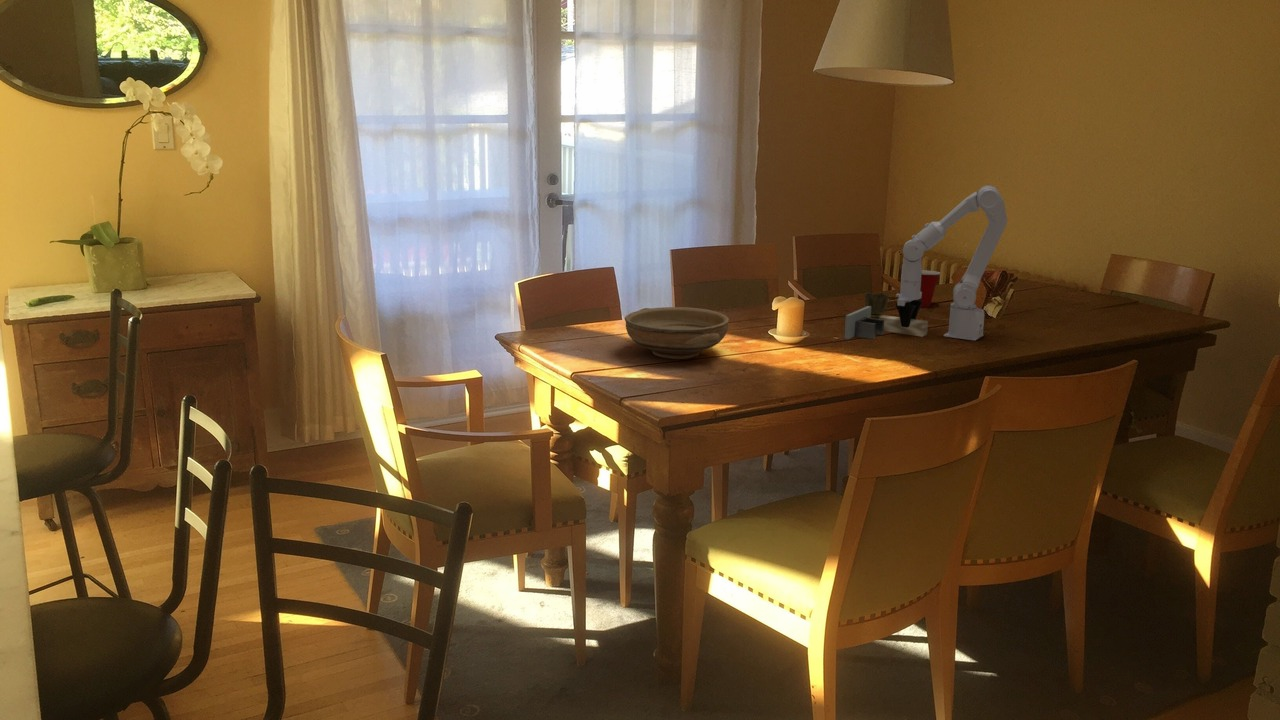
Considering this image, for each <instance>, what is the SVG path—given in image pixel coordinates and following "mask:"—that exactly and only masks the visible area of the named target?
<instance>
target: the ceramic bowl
mask: <svg viewBox="0 0 1280 720" xmlns="http://www.w3.org/2000/svg"><path fill="white" fill-rule="evenodd" d="M624 321H625V330H626V332H627V335H628V336H629V338H630V339H631V340H632V342H634V343H636V344H637V345H638V346H641V347H642V348H645V349H648V350H650V351H652V354H653V355H654V356H656V357H659V358H664V359H671V360H673V359H675V360H680V359H681V360H682V359H683V360H685V359H690V358H691V359H692V358H695V357H698V356H699V355H700V354H701V352H702V351H705V350H707V349H710V348H712V347H714V346H716V345H718V344H719V343H720V342H721V341H722V340H723V339H724V338H725V337H726V335H727V333H728V329H729V322H730V319H729V317H728V316H727V315H726V314H724V313H723V312H722V313H721V312H719V311H715V310H711V309H706V308H698V307H697V308H696V307H686V306H685V307H682V306H673V307H672V306H670V307H669V306H668V307H666V306H665V307H654V308H653V307H652V308H650V307H649V308H648V307H646V308H641V309H639V310H635V311H633V312H630V313H628V314H627V315H626V316H625V317H624Z"/></svg>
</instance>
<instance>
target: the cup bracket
mask: <svg viewBox="0 0 1280 720" xmlns="http://www.w3.org/2000/svg"><path fill="white" fill-rule="evenodd" d="M883 330H884V320H882V319H874V318H867V317H865V318H862V319H860V320H858V321H856V322H855V335H854V337H855V338H862V339H869V340H875V339H876V335H878V336H883V335H884V331H883ZM854 337H853V338H854Z"/></svg>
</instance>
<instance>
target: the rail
mask: <svg viewBox="0 0 1280 720" xmlns="http://www.w3.org/2000/svg"><path fill="white" fill-rule="evenodd" d="M879 319H882V320H884V330H883V332H889V333H895V334H903V335H908V336H917V337H921V338H922V337H924V336H927V335H928V327H929V321H927V320H922V319H916V320H915V319H911V321H910V325H909V327H902V326H901V321H900V316H893V315H892V316H891V315H885V314H884V315H881V317H879Z"/></svg>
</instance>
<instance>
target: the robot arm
mask: <svg viewBox="0 0 1280 720" xmlns="http://www.w3.org/2000/svg"><path fill="white" fill-rule="evenodd" d="M979 208H980V209H981V211H983V212H984V213H985V216H986V217H987V219H988V223H987V226H986V228H985V230H984V232H983V234H982V237H981V238H980V241H979V243H978V245H977V247H976V249H975V251H974V253H973V256H972V257H971V260H970V262H969V264H968V267H967V269H966V270H965V273H964V274H963V275H962V278H961V279H960V281H959V282H958V283H956V284H955V286H954V287H953V289H952V295H953V298H952V299H953V301H952V302H951V303H950V308H949V322H948V332H946V333H945V334H943V337H946V338H952V339H953V338H954V339H960V340H968V341H977V340H979V339H981V338H982V337H983V336H984V326H985V310H984V309H982V308H979V307H977V304H975V302H976V300H977V291H978V288H979V286H980V282H981V279H982V278H983V275H984V273H985V271H986V269H987V266H988V265H989V263H990V261H991V258H992V256H993V254H994V253H995V250H996V248H997V245H998V243H999V241H1000V239H1001V237H1002V235H1003V233H1004V230H1006V229H1005V228H1006V226H1007V225H1008V216H1007V212H1006V210H1007V209H1006V205H1005V200H1004V199H1003V197H1002V195H1001V193H1000V191H999V190H998V189H997V187H995V186H993V185H988V184H987V185H984V186H982V187H980V188H979V189H978V190H977V191H974V192H972V193H971V194H970V195H968V196H967V197H965V198H964V199H963V200H962V201H961V202H960V203H959V204H958V205H956V206H955V207H954V208H953V209H951V211H949V212H948V213H947V214H946V215H945V216H944V217H943V218H942V219H940V220H939V221H931V222H930V223H929V222H927V223H925V224H924V228H923V229H922V230H920V231H919V232H918V233H917V234H913V235H912V236H911V238H912V239H909V240H908V241H906V242H905V243H904V245H903V248H902V255H903V258H902V264H901V275H900V276H901V277H900V288H899V289H900V290H899V291H900V293H898V292H897V293H896V295H895V297H896V298H897V297H898V298H897V301H896V303H895V308H896V310H897V312H898V315H899V316H898V317H900V321H901V326H902V327H909V325H910V321H911V319H915V320H917V315H918V313H919V311H920V309H921V308H922V307H921V305H922V304H923V301H921V300H918V299H920V298H921V296H922V292H920V288H921V274H922V270H923V266H922V259H923V256H924V253H925V252H927V251H929V250H931V248H933V247H935V245H937V244H938V243H939V242H940V241H941V240H943V239H944V238H945V237H946V232H947V230H948V229H949V228H950V227H952V226H953V225H954V224H956V223H957V222H958V221H959V220H961V219H962V218H964V216H966V215H968V214H969V213H974V212H975V213H977V212H979V210H980V209H979Z"/></svg>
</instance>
